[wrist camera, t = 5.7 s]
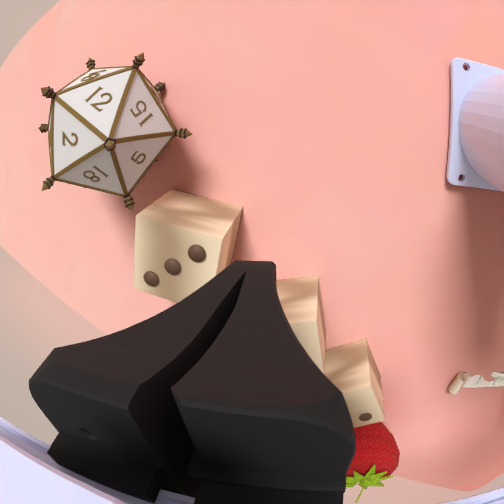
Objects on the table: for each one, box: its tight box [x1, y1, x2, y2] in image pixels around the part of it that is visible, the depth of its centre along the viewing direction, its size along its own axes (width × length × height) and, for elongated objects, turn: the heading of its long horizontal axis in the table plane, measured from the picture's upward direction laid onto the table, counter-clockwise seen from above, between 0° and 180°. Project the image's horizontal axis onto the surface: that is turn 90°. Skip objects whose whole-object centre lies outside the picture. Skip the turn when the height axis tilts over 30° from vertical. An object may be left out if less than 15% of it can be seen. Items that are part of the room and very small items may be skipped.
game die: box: [38, 53, 193, 211], centre depth 16 cm, size 9×8×10 cm
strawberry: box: [346, 422, 400, 502], centre depth 24 cm, size 6×8×10 cm
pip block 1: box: [134, 189, 243, 303], centre depth 20 cm, size 5×5×5 cm
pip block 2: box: [324, 338, 385, 428], centre depth 23 cm, size 5×5×5 cm
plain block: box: [276, 276, 326, 374], centre depth 22 cm, size 5×5×5 cm
